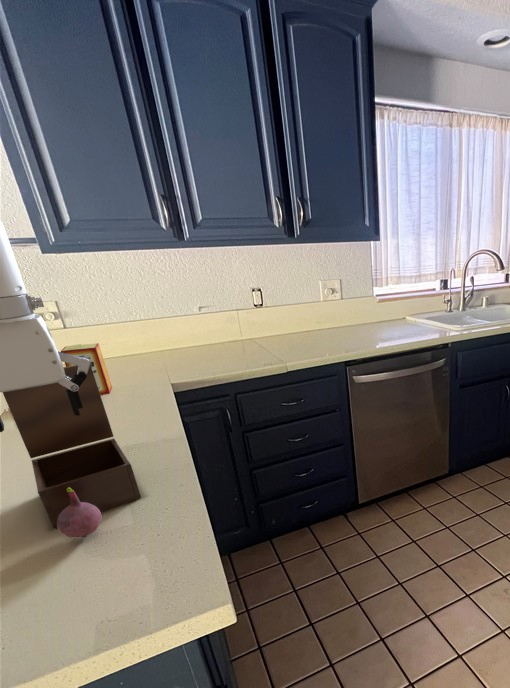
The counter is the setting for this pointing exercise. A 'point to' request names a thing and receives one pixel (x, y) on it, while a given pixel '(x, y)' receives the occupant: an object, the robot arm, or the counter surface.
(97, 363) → the baking soda box
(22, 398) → the lid
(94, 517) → the vegetable
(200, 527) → the counter surface
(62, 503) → the chest
